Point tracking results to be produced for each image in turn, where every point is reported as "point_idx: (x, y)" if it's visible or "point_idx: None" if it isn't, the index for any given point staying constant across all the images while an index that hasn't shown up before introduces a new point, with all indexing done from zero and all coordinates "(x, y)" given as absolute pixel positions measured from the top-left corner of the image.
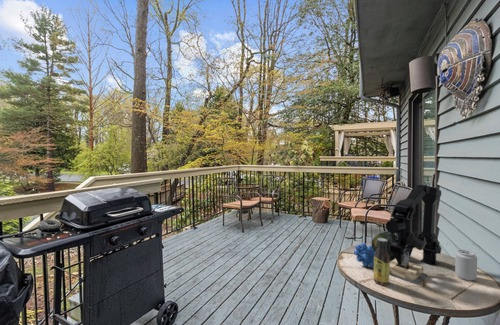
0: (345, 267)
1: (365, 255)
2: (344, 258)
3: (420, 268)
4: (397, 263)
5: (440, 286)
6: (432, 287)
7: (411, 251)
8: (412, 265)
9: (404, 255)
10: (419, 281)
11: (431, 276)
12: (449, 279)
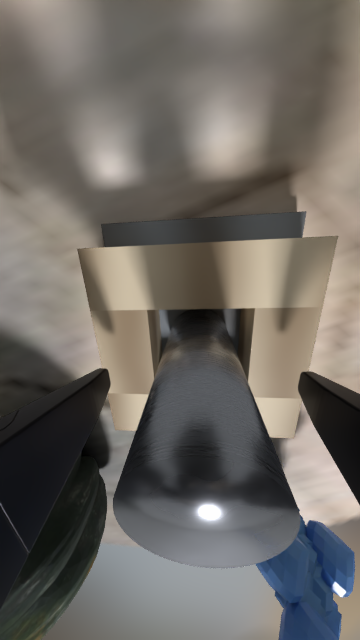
0: (341, 511)
1: (351, 579)
2: None
3: (138, 248)
4: None
5: (191, 75)
6: (258, 114)
7: (10, 427)
8: (136, 317)
9: (270, 443)
10: (249, 216)
11: (85, 203)
12: (12, 85)
